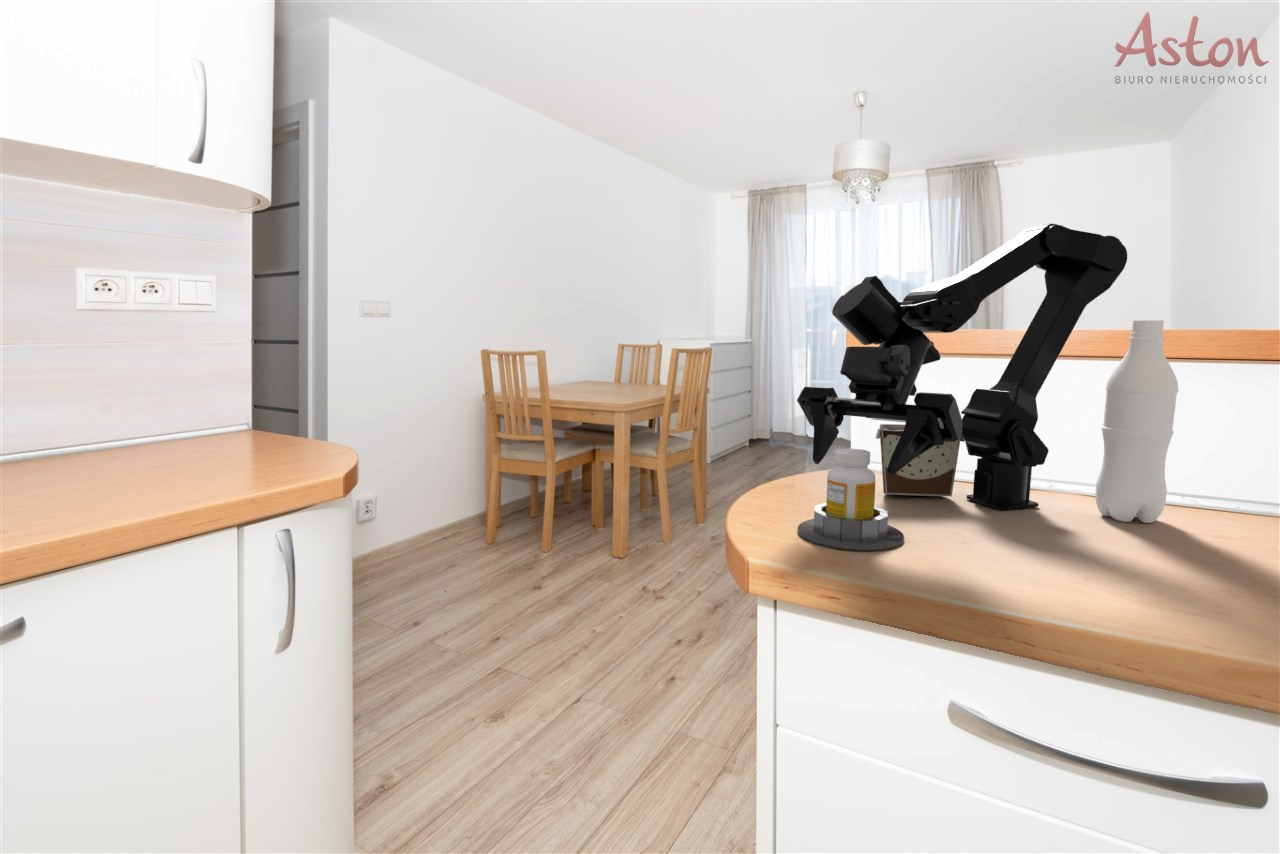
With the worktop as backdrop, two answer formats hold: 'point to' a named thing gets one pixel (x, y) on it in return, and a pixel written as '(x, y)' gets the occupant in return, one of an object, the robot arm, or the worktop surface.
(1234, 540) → the worktop surface
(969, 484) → the worktop surface
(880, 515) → the ring collar
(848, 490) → the supplement bottle
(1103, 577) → the worktop surface
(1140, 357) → the water bottle
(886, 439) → the food container
